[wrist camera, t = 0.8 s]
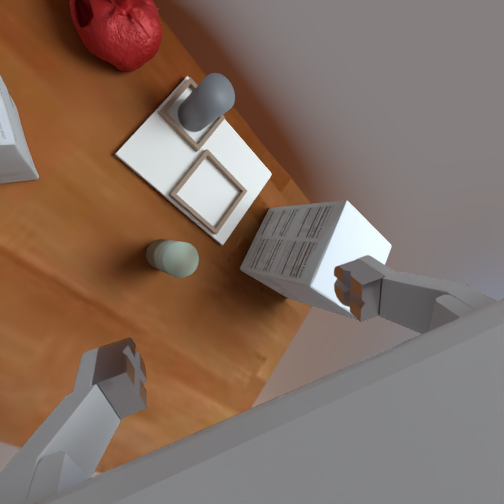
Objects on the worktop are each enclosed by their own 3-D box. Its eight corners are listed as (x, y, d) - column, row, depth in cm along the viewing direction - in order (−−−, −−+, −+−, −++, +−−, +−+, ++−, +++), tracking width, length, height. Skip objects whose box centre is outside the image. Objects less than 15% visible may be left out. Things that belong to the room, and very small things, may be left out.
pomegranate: (164, 39, 40) (189, -6, 33) (132, 95, 39) (151, 62, 31) (92, -27, 35) (102, -98, 27) (51, 35, 33) (50, -23, 26)
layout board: (114, 154, 38) (128, 134, 30) (185, 78, 42) (214, 42, 34) (220, 244, 47) (253, 248, 39) (269, 174, 52) (307, 164, 44)
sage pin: (139, 257, 40) (155, 264, 33) (158, 233, 42) (178, 234, 34) (164, 274, 42) (184, 284, 35) (181, 251, 44) (205, 255, 36)
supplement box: (312, 241, 59) (394, 245, 44) (287, 299, 56) (365, 323, 42) (268, 206, 52) (347, 197, 38) (237, 270, 49) (309, 287, 35)
